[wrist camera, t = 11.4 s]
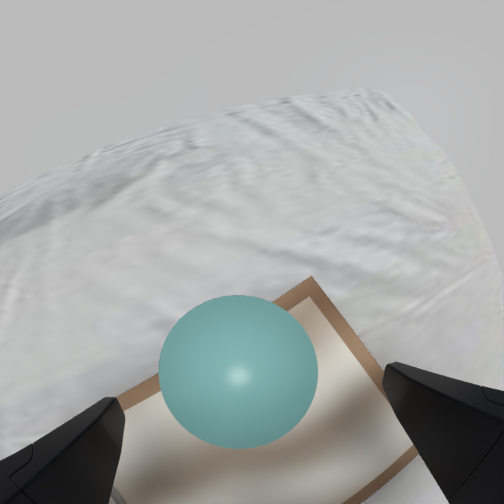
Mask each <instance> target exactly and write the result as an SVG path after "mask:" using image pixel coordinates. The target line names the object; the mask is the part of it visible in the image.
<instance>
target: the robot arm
mask: <svg viewBox="0 0 504 504" xmlns="http://www.w3.org/2000/svg"><path fill="white" fill-rule="evenodd" d="M382 387H383V390H384V392H385V394H386V396H387V398H388V401H389V403H390V405H391V407H392V409H393V411H394V413H395V415H396V417H397V419H398V421H399V422H400V424H401V426H402V427H403V429H404V430H405V432H406V434H407V435H408V437H409V438H410V440H411V441H412V443H413V445H414V446H415V448H416V449H417V451H418V453H419V454H420V456H421V458H422V459H423V461H424V462H425V464H426V466H427V467H428V469H429V471H430V472H431V474H432V475H433V477H434V479H435V480H436V482H437V484H438V485H439V487H440V489H441V490H442V492H443V494H444V495H445V497H446V499H447V500H448V502H449V504H504V391H501V390H497V389H492V388H488V387H485V386H482V387H481V386H479V385H475V384H472V383H468V382H464V381H461V380H457V379H453V378H450V377H446V376H443V375H439V374H436V373H432V372H429V371H426V370H422V369H419V368H416V367H412V366H409V365H406V364H403V363H399V362H393V363H390V364H387V365H386V367H385V371H384V375H383V379H382ZM125 420H126V419H125V413H124V411H123V409H122V407H121V405H120V403H119V401H118V399H117V398H115V397H105V398H103V399H101V400H100V401H98V402H97V403H95V404H94V405H92V406H91V407H89V408H88V409H86V410H85V411H83V412H82V413H80V414H78V415H77V416H75V417H74V418H72V419H71V420H69V421H67V422H66V423H64V424H63V425H61V426H60V427H58V428H56V429H55V430H53V431H52V432H50V433H48V434H47V435H45V436H43V437H42V438H40V439H39V440H37V441H35V442H34V443H33V444H30V445H28V446H27V447H25V448H23V449H21V450H20V451H18V452H16V453H14V454H13V455H11V456H9V457H7V458H5V459H3V460H1V461H0V504H109V501H110V497H111V492H112V488H113V484H114V480H115V476H116V472H117V468H118V464H119V460H120V456H121V450H122V443H123V435H124V428H125Z"/></svg>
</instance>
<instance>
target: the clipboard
mask: <svg viewBox="0 0 504 504" xmlns="http://www.w3.org/2000/svg"><path fill="white" fill-rule="evenodd" d="M272 303H274V304H276V305H277V306H279V307H281V308H283V309H284V310H285V311H287V312H288V313H290V314H291V315H292V316H293V317H294V318H295V319H296V320H297V321H298V322H299V323H300V324H301V326H302V327H303V328H304V330H305V331H306V333H307V334H308V336H309V338H310V340H311V342H312V344H313V347H314V350H315V353H316V357H317V363H318V382H317V388H316V392H315V396H314V398H313V401H312V403H311V405H310V407H309V409H308V411H307V412H306V414H305V415H304V417H303V418H302V419H301V421H300V422H299V423H298V424H297V425H296V426H295V427H294V428H293V429H292V430H291V431H289V432H288V433H287V434H285V435H284V436H282V437H281V438H279V439H277V440H275V441H273V442H271V443H268V444H266V445H262V446H258V447H254V448H247V449H230V448H224V447H219V446H216V445H212V444H209V443H207V442H205V441H203V440H200V439H199V438H197V437H195V436H194V435H192V434H191V433H190V432H188V431H187V430H186V429H185V428H183V427H182V426H181V424H180V423H179V422H178V421H177V420H176V419H175V418H174V416H173V415H172V413H171V412H170V410H169V409H168V407H167V405H166V403H165V401H164V398H163V395H162V392H161V388H160V383H159V373H158V374H156V375H154V376H153V377H151V378H149V379H147V380H146V381H144V382H142V383H140V384H139V385H137V386H135V387H133V388H132V389H130V390H128V391H126V392H124V393H123V394H121V395H119V396H117V397H115V398H117V399H118V401H119V403H120V405H121V407H122V409H123V411H124V413H125V419H126V420H125V428H124V435H123V443H122V450H121V456H120V460H119V464H118V468H117V472H116V476H115V480H114V484H113V488H112V492H111V497H110V501H109V504H360V503H362V502H363V501H364V500H366V499H367V498H368V497H370V496H371V495H372V494H373V493H375V492H376V491H377V490H378V489H380V488H381V487H382V486H383V485H384V484H386V483H387V482H388V481H389V480H390V479H392V478H393V477H394V476H395V475H396V474H397V473H398V472H400V471H401V470H402V469H403V468H404V467H405V466H406V465H407V464H408V463H409V462H410V461H412V460H413V459H414V458H415V457H416V456H417V455H418V454H419V453H418V451H417V449H416V448H415V446H414V445H413V443H412V441H411V440H410V438H409V437H408V435H407V434H406V432H405V430H404V429H403V427H402V426H401V424H400V422H399V421H398V419H397V417H396V415H395V413H394V411H393V409H392V407H391V405H390V403H389V401H388V398H387V396H386V394H385V392H384V390H383V387H382V379H383V375H384V371H383V370H382V369H381V367H380V366H379V365H378V363H377V362H376V360H375V359H374V358H373V356H372V355H371V354H370V352H369V351H368V350H367V348H366V347H365V346H364V344H363V343H362V342H361V340H360V339H359V337H358V336H357V335H356V333H355V332H354V331H353V329H352V328H351V327H350V325H349V324H348V323H347V322H346V320H345V319H344V318H343V316H342V315H341V314H340V312H339V311H338V310H337V308H336V307H335V306H334V304H333V303H332V302H331V300H330V299H329V298H328V297H327V295H326V294H325V293H324V291H323V290H322V289H321V287H320V286H319V285H318V284H317V282H316V281H315V280H314V278H313V277H312V276H311V277H309V278H308V279H306V280H305V281H303V282H302V283H300V284H299V285H298V286H296V287H295V288H293V289H292V290H290V291H289V292H287V293H286V294H284V295H283V296H281V297H280V298H278V299H277V300H275V301H274V302H272Z"/></svg>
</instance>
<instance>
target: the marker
mask: <svg viewBox="0 0 504 504" xmlns="http://www.w3.org/2000/svg"><path fill="white" fill-rule="evenodd" d="M317 382H318V363H317V357H316V353H315V350H314V347H313V344H312V342H311V340H310V338H309V336H308V334H307V333H306V331H305V330H304V328H303V327H302V326H301V324H300V323H299V322H298V321H297V320H296V319H295V318H294V317H293V316H292V315H291V314H290V313H288V312H287V311H285V310H284V309H283V308H281V307H279V306H277V305H276V304H274V303H272V302H269V301H266V300H264V299H260V298H256V297H251V296H244V295H232V296H224V297H219V298H215V299H212V300H209V301H207V302H204V303H202V304H200V305H198V306H196V307H195V308H193V309H192V310H190V311H189V312H188V313H186V314H185V315H184V316H183V317H182V318H181V319H180V320H179V321H178V322H177V323H176V324H175V326H174V327H173V328H172V330H171V331H170V333H169V334H168V336H167V338H166V340H165V343H164V345H163V348H162V351H161V355H160V360H159V383H160V388H161V392H162V395H163V398H164V401H165V403H166V405H167V407H168V409H169V410H170V412H171V413H172V415H173V416H174V418H175V419H176V420H177V421H178V422H179V423H180V424H181V426H182V427H183V428H185V429H186V430H187V431H188V432H190V433H191V434H192V435H194V436H195V437H197V438H199V439H200V440H203V441H205V442H207V443H209V444H212V445H216V446H219V447H224V448H230V449H247V448H254V447H258V446H262V445H266V444H268V443H271V442H273V441H275V440H277V439H279V438H281V437H282V436H284V435H285V434H287V433H288V432H289V431H291V430H292V429H293V428H294V427H295V426H296V425H297V424H298V423H299V422H300V421H301V419H302V418H303V417H304V415H305V414H306V412H307V411H308V409H309V407H310V405H311V403H312V401H313V398H314V396H315V392H316V388H317Z"/></svg>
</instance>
